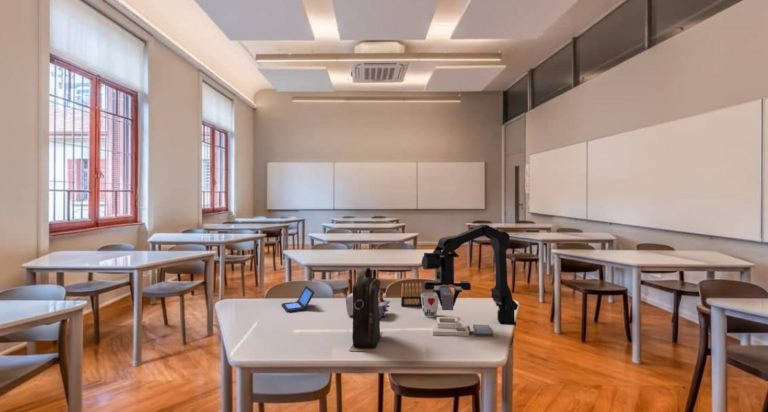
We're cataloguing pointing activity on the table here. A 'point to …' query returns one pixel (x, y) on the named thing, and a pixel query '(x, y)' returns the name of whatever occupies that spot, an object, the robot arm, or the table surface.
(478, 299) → the table surface
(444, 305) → the charger block
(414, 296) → the ammunition clip
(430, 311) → the cup
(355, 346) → the shoulder bag
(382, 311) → the cell model
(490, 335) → the phone
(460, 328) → the outlet plate
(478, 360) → the table surface
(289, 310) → the handheld game console
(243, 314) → the table surface
